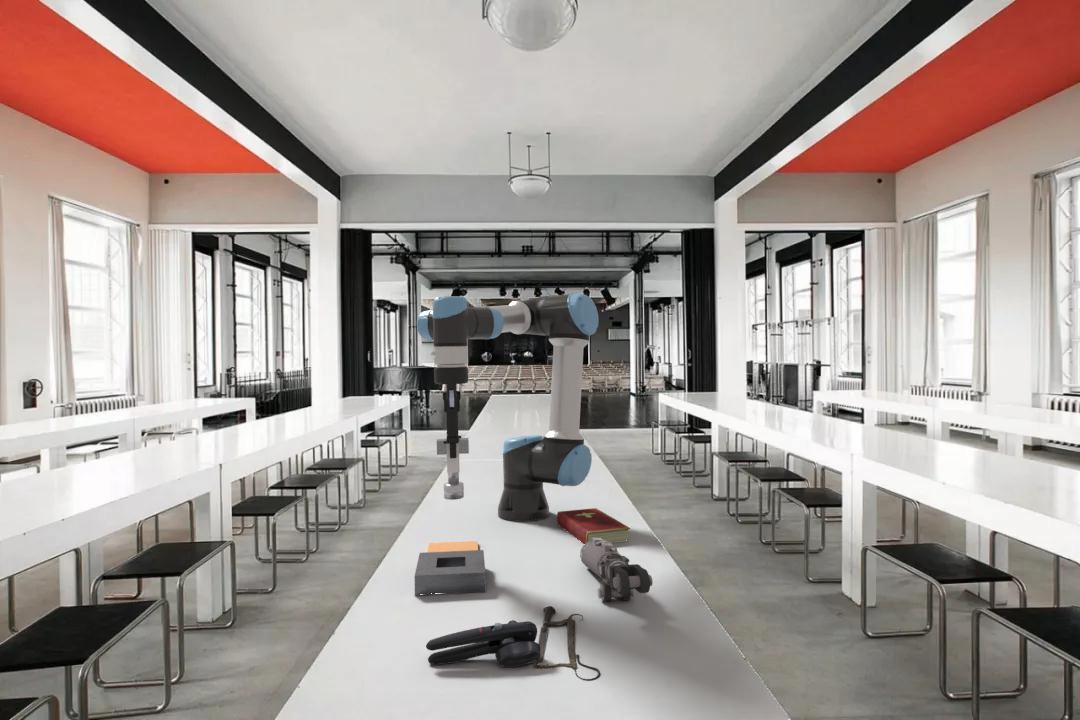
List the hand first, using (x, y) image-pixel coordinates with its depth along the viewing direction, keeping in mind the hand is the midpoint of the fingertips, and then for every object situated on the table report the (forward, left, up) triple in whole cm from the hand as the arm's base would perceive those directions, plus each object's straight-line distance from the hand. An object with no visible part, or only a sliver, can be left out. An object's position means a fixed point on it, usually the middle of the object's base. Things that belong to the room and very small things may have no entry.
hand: (453, 470), depth 138 cm
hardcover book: (-36, -21, -22) cm, 47 cm away
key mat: (0, -9, -22) cm, 24 cm away
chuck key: (0, 0, -6) cm, 6 cm away
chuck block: (0, +9, -22) cm, 23 cm away
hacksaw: (-20, +38, -22) cm, 49 cm away
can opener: (-5, +43, -22) cm, 48 cm away
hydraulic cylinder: (-32, +18, -22) cm, 42 cm away
